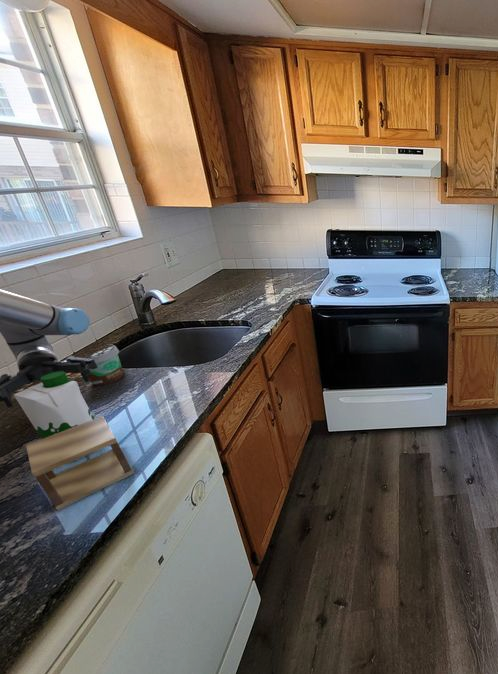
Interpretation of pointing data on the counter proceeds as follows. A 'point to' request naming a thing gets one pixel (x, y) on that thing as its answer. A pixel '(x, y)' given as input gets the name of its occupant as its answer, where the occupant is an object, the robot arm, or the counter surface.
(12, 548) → the counter surface
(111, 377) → the food container
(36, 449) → the rack
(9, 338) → the robot arm
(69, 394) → the soya milk
